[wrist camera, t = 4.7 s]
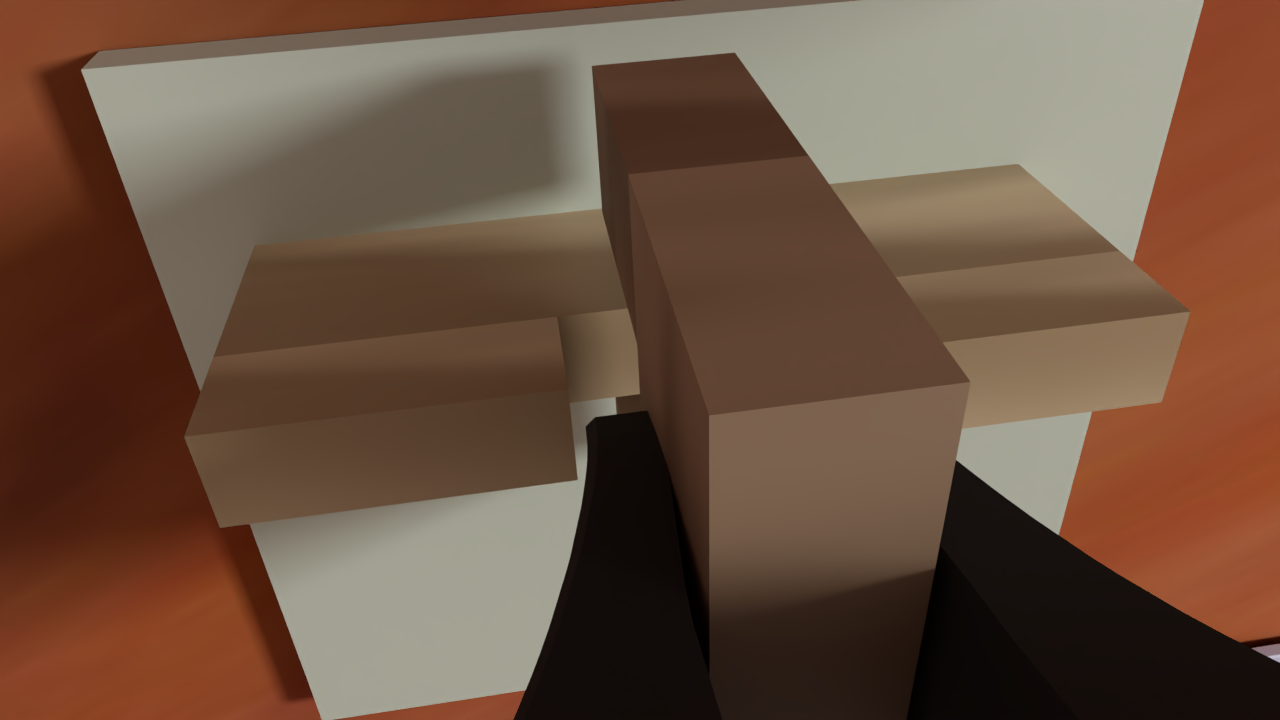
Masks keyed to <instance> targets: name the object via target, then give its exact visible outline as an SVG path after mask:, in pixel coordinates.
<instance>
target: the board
mask: <svg viewBox="0 0 1280 720" xmlns="http://www.w3.org/2000/svg"><path fill="white" fill-rule="evenodd" d="M1203 2H1204V0H681V1H670V2H658V3H647V4H635V5H624V6H612V7H601V8H589V9H578V10H566V11H555V12H543V13H532V14H520V15H509V16H497V17H486V18H474V19H463V20H452V21H440V22H429V23H417V24H406V25H394V26H383V27H371V28H360V29H348V30H337V31H325V32H314V33H302V34H291V35H279V36H268V37H257V38H245V39H234V40H222V41H211V42H199V43H188V44H176V45H165V46H153V47H142V48H130V49H119V50H107V51H99V52H98V53H97V54H96V55H95V56H94V57H93V58H92V59H91V60H90V61H89V62H88V63H87V64H86V65H85V66H84V67H83V68H82V69H81V71H82V74H83V77H84V79H85V82H86V85H87V87H88V90H89V93H90V95H91V98H92V101H93V103H94V106H95V109H96V112H97V114H98V117H99V120H100V122H101V125H102V128H103V130H104V133H105V136H106V139H107V141H108V144H109V147H110V149H111V152H112V155H113V157H114V160H115V163H116V166H117V168H118V171H119V174H120V176H121V179H122V182H123V184H124V187H125V190H126V192H127V195H128V198H129V201H130V203H131V206H132V209H133V211H134V214H135V217H136V219H137V222H138V225H139V228H140V230H141V233H142V236H143V238H144V241H145V244H146V246H147V249H148V252H149V254H150V257H151V260H152V263H153V265H154V268H155V271H156V273H157V276H158V279H159V281H160V284H161V287H162V290H163V292H164V295H165V298H166V300H167V303H168V306H169V308H170V311H171V314H172V316H173V319H174V322H175V325H176V327H177V330H178V333H179V335H180V338H181V341H182V343H183V346H184V349H185V352H186V354H187V357H188V360H189V362H190V365H191V368H192V370H193V373H194V376H195V379H196V381H197V384H198V387H199V389H200V392H201V389H202V386H203V384H204V381H205V378H206V376H207V373H208V370H209V367H210V365H211V362H212V359H213V357H214V354H215V351H216V348H217V346H218V343H219V340H220V337H221V335H222V332H223V329H224V327H225V324H226V321H227V318H228V316H229V313H230V310H231V308H232V305H233V302H234V299H235V297H236V294H237V291H238V289H239V286H240V283H241V280H242V278H243V275H244V272H245V270H246V267H247V264H248V261H249V259H250V256H251V253H252V251H253V248H254V246H255V245H264V244H274V243H283V242H292V241H302V240H311V239H320V238H330V237H339V236H348V235H358V234H367V233H377V232H386V231H395V230H405V229H414V228H423V227H433V226H442V225H451V224H461V223H470V222H479V221H489V220H498V219H507V218H517V217H526V216H535V215H545V214H554V213H563V212H573V211H582V210H591V209H601V208H602V202H601V188H600V174H599V160H598V146H597V132H596V118H595V104H594V90H593V76H592V66H595V65H606V64H617V63H628V62H638V61H649V60H660V59H671V58H682V57H693V56H703V55H714V54H725V53H736V55H737V56H738V58H739V59H740V60H741V62H742V63H743V64H744V66H745V67H746V69H747V70H748V71H749V73H750V74H751V76H752V77H753V78H754V80H755V81H756V83H757V84H758V85H759V87H760V88H761V90H762V91H763V92H764V94H765V95H766V97H767V98H768V99H769V101H770V102H771V104H772V105H773V106H774V108H775V109H776V111H777V112H778V113H779V115H780V116H781V118H782V119H783V120H784V122H785V123H786V125H787V126H788V127H789V129H790V130H791V132H792V133H793V134H794V136H795V137H796V139H797V140H798V141H799V143H800V144H801V146H802V147H803V148H804V150H805V151H806V152H807V154H808V155H809V157H810V158H811V159H812V161H813V162H814V164H815V165H816V166H817V168H818V169H819V171H820V172H821V173H822V175H823V176H824V178H825V179H826V180H827V182H828V183H829V184H834V183H844V182H853V181H862V180H872V179H881V178H891V177H900V176H909V175H919V174H928V173H937V172H947V171H956V170H965V169H975V168H984V167H993V166H1003V165H1012V164H1019V165H1020V166H1021V167H1023V168H1024V169H1025V170H1026V171H1027V172H1028V173H1030V174H1031V175H1032V176H1033V177H1034V178H1035V179H1037V180H1038V181H1039V182H1040V183H1041V184H1042V185H1044V186H1045V187H1046V188H1047V189H1048V190H1049V191H1051V192H1052V193H1053V194H1054V195H1055V196H1056V197H1058V198H1059V199H1060V200H1061V201H1062V202H1063V203H1065V204H1066V205H1067V206H1068V207H1069V208H1070V209H1072V210H1073V211H1074V212H1075V213H1076V214H1077V215H1079V216H1080V217H1081V218H1082V219H1083V220H1084V221H1086V222H1087V223H1088V224H1089V225H1090V226H1091V227H1093V228H1094V229H1095V230H1096V231H1097V232H1098V233H1100V234H1101V235H1102V236H1103V237H1104V238H1105V239H1107V240H1108V241H1109V242H1110V243H1111V244H1112V245H1113V246H1115V247H1116V248H1117V249H1118V250H1119V251H1120V252H1122V253H1123V254H1124V255H1125V256H1126V257H1127V258H1129V259H1130V260H1131V261H1132V262H1133V259H1134V255H1135V252H1136V248H1137V244H1138V241H1139V237H1140V233H1141V230H1142V226H1143V222H1144V219H1145V215H1146V211H1147V208H1148V204H1149V200H1150V197H1151V193H1152V189H1153V186H1154V182H1155V178H1156V175H1157V171H1158V167H1159V164H1160V160H1161V156H1162V152H1163V149H1164V145H1165V141H1166V138H1167V134H1168V130H1169V127H1170V123H1171V119H1172V116H1173V112H1174V108H1175V105H1176V101H1177V97H1178V94H1179V90H1180V86H1181V83H1182V79H1183V75H1184V72H1185V68H1186V64H1187V61H1188V57H1189V53H1190V50H1191V46H1192V42H1193V38H1194V35H1195V31H1196V27H1197V24H1198V20H1199V16H1200V13H1201V9H1202V5H1203ZM570 411H571V420H572V430H573V439H574V448H575V458H576V467H577V476H578V480H575V481H568V482H560V483H553V484H545V485H538V486H530V487H523V488H515V489H508V490H500V491H493V492H485V493H478V494H470V495H463V496H455V497H448V498H440V499H433V500H425V501H418V502H410V503H403V504H396V505H388V506H381V507H373V508H366V509H358V510H351V511H343V512H336V513H328V514H321V515H313V516H306V517H298V518H291V519H283V520H276V521H268V522H261V523H253V524H250V527H251V529H252V532H253V535H254V538H255V540H256V543H257V546H258V548H259V551H260V554H261V556H262V559H263V562H264V565H265V567H266V570H267V573H268V575H269V578H270V581H271V583H272V586H273V589H274V592H275V594H276V597H277V600H278V602H279V605H280V608H281V610H282V613H283V616H284V618H285V621H286V624H287V627H288V629H289V632H290V635H291V637H292V640H293V643H294V645H295V648H296V651H297V654H298V656H299V659H300V662H301V664H302V667H303V670H304V672H305V675H306V678H307V680H308V683H309V686H310V689H311V691H312V694H313V697H314V699H315V702H316V705H317V707H318V710H319V713H320V716H321V718H322V720H334V719H340V718H347V717H353V716H360V715H366V714H373V713H380V712H386V711H393V710H399V709H406V708H412V707H419V706H425V705H432V704H438V703H445V702H451V701H458V700H464V699H471V698H477V697H484V696H490V695H497V694H503V693H510V692H516V691H523V690H526V688H527V686H528V683H529V681H530V678H531V676H532V673H533V671H534V668H535V665H536V663H537V660H538V657H539V655H540V652H541V649H542V646H543V644H544V641H545V638H546V635H547V632H548V629H549V626H550V623H551V620H552V617H553V613H554V610H555V607H556V603H557V600H558V597H559V594H560V590H561V587H562V584H563V580H564V577H565V574H566V570H567V567H568V563H569V559H570V555H571V551H572V547H573V542H574V537H575V533H576V528H577V524H578V519H579V514H580V510H581V505H582V498H583V492H584V485H585V478H586V468H587V438H586V426H587V425H588V424H589V423H590V422H591V421H592V420H593V419H594V418H595V417H600V416H608V415H615V414H617V413H616V399H615V397H613V398H605V399H597V400H589V401H581V402H573V403H570ZM1091 414H1092V412H1085V413H1077V414H1070V415H1062V416H1055V417H1047V418H1040V419H1032V420H1025V421H1017V422H1010V423H1002V424H995V425H987V426H980V427H972V428H965V429H962V431H961V436H960V441H959V446H958V452H957V457H956V460H957V461H958V462H960V463H961V464H962V465H963V466H965V467H966V468H967V469H968V470H970V471H971V472H972V473H974V474H975V475H976V476H977V477H979V478H980V479H981V480H983V481H984V482H985V483H987V484H988V485H989V486H990V487H992V488H993V489H994V490H996V491H997V492H998V493H1000V494H1001V495H1002V496H1004V497H1005V498H1006V499H1008V500H1009V501H1011V502H1012V503H1013V504H1015V505H1016V506H1018V507H1019V508H1020V509H1022V510H1023V511H1024V512H1026V513H1027V514H1029V515H1030V516H1031V517H1033V518H1034V519H1035V520H1037V521H1038V522H1040V523H1041V524H1043V525H1044V526H1046V527H1047V528H1049V529H1050V530H1052V531H1053V532H1055V533H1056V534H1057V535H1059V531H1060V528H1061V524H1062V520H1063V517H1064V513H1065V509H1066V506H1067V502H1068V498H1069V494H1070V491H1071V487H1072V483H1073V480H1074V476H1075V472H1076V469H1077V465H1078V461H1079V458H1080V454H1081V450H1082V447H1083V443H1084V439H1085V436H1086V432H1087V428H1088V425H1089V421H1090V417H1091Z"/></svg>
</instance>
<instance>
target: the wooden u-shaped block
mask: <svg viewBox="0 0 1280 720" xmlns="http://www.w3.org/2000/svg"><path fill="white" fill-rule="evenodd" d="M829 185H830V186H831V187H832V189H833V190H834V192H835V193H836V194H837V196H838V197H839V199H840V200H841V201H842V203H843V204H844V206H845V207H846V208H847V210H848V211H849V213H850V214H851V215H852V217H853V218H854V220H855V221H856V222H857V224H858V225H859V227H860V228H861V229H862V231H863V232H864V233H865V235H866V236H867V238H868V239H869V240H870V242H871V243H872V245H873V246H874V247H875V249H876V250H877V252H878V253H879V254H880V256H881V257H882V259H883V260H884V261H885V263H886V264H887V266H888V267H889V268H890V270H891V271H892V273H893V274H894V275H895V277H896V278H897V280H898V281H899V282H900V284H901V285H902V287H903V288H904V289H905V291H906V292H907V294H908V295H909V296H910V298H911V299H912V301H913V302H914V303H915V305H916V306H917V308H918V309H919V310H920V312H921V313H922V315H923V316H924V317H925V319H926V320H927V321H928V323H929V324H930V326H931V327H932V328H933V330H934V331H935V333H936V334H937V335H938V337H939V338H940V340H941V341H942V342H943V344H944V345H945V347H946V348H947V349H948V351H949V352H950V354H951V355H952V356H953V358H954V359H955V361H956V362H957V363H958V365H959V366H960V368H961V369H962V370H963V372H964V373H965V375H966V376H967V377H968V379H969V380H970V382H971V383H970V389H969V394H968V399H967V404H966V410H965V415H964V420H963V425H962V429H965V428H972V427H980V426H987V425H995V424H1002V423H1010V422H1017V421H1025V420H1032V419H1040V418H1047V417H1055V416H1062V415H1070V414H1077V413H1085V412H1092V411H1100V410H1107V409H1115V408H1122V407H1130V406H1137V405H1145V404H1152V403H1160V402H1162V399H1163V396H1164V393H1165V390H1166V387H1167V383H1168V380H1169V377H1170V374H1171V371H1172V368H1173V365H1174V362H1175V359H1176V355H1177V352H1178V349H1179V346H1180V343H1181V340H1182V337H1183V334H1184V330H1185V327H1186V324H1187V321H1188V318H1189V315H1190V311H1189V310H1188V309H1187V308H1186V307H1185V306H1183V305H1182V304H1181V303H1180V302H1179V301H1178V300H1176V299H1175V298H1174V297H1173V296H1172V295H1171V294H1169V293H1168V292H1167V291H1166V290H1165V289H1164V288H1162V287H1161V286H1160V285H1159V284H1158V283H1157V282H1155V281H1154V280H1153V279H1152V278H1151V277H1150V276H1148V275H1147V274H1146V273H1145V272H1144V271H1143V270H1141V269H1140V268H1139V267H1138V266H1137V265H1136V264H1134V263H1133V262H1132V261H1131V260H1130V259H1129V258H1127V257H1126V256H1125V255H1124V254H1123V253H1122V252H1120V251H1119V250H1118V249H1117V248H1116V247H1115V246H1113V245H1112V244H1111V243H1110V242H1109V241H1108V240H1107V239H1105V238H1104V237H1103V236H1102V235H1101V234H1100V233H1098V232H1097V231H1096V230H1095V229H1094V228H1093V227H1091V226H1090V225H1089V224H1088V223H1087V222H1086V221H1084V220H1083V219H1082V218H1081V217H1080V216H1079V215H1077V214H1076V213H1075V212H1074V211H1073V210H1072V209H1070V208H1069V207H1068V206H1067V205H1066V204H1065V203H1063V202H1062V201H1061V200H1060V199H1059V198H1058V197H1056V196H1055V195H1054V194H1053V193H1052V192H1051V191H1049V190H1048V189H1047V188H1046V187H1045V186H1044V185H1042V184H1041V183H1040V182H1039V181H1038V180H1037V179H1035V178H1034V177H1033V176H1032V175H1031V174H1030V173H1028V172H1027V171H1026V170H1025V169H1024V168H1023V167H1021V166H1020V165H1019V164H1012V165H1003V166H993V167H984V168H975V169H965V170H956V171H947V172H937V173H928V174H919V175H909V176H900V177H891V178H881V179H872V180H862V181H853V182H844V183H834V184H829ZM637 394H640V388H639V369H638V350H637V342H636V338H635V334H634V330H633V327H632V323H631V319H630V315H629V311H628V308H627V304H626V300H625V296H624V293H623V289H622V285H621V281H620V277H619V274H618V270H617V266H616V262H615V259H614V255H613V251H612V247H611V243H610V240H609V236H608V232H607V228H606V225H605V221H604V217H603V213H602V208H601V209H591V210H582V211H573V212H563V213H554V214H545V215H535V216H526V217H517V218H507V219H498V220H489V221H479V222H470V223H461V224H451V225H442V226H433V227H423V228H414V229H405V230H395V231H386V232H377V233H367V234H358V235H348V236H339V237H330V238H320V239H311V240H302V241H292V242H283V243H274V244H264V245H255V246H254V248H253V251H252V253H251V256H250V259H249V261H248V264H247V267H246V270H245V272H244V275H243V278H242V280H241V283H240V286H239V289H238V291H237V294H236V297H235V299H234V302H233V305H232V308H231V310H230V313H229V316H228V318H227V321H226V324H225V327H224V329H223V332H222V335H221V337H220V340H219V343H218V346H217V348H216V351H215V354H214V357H213V359H212V362H211V365H210V367H209V370H208V373H207V376H206V378H205V381H204V384H203V386H202V389H201V392H200V395H199V397H198V400H197V403H196V405H195V408H194V411H193V414H192V416H191V419H190V422H189V424H188V427H187V430H186V433H185V435H184V438H185V441H186V443H187V446H188V448H189V451H190V453H191V456H192V459H193V461H194V464H195V466H196V469H197V471H198V474H199V476H200V479H201V481H202V484H203V486H204V489H205V491H206V494H207V496H208V499H209V502H210V504H211V507H212V509H213V512H214V514H215V517H216V519H217V522H218V524H219V527H220V528H223V527H231V526H238V525H246V524H253V523H261V522H268V521H276V520H283V519H291V518H298V517H306V516H313V515H321V514H328V513H336V512H343V511H351V510H358V509H366V508H373V507H381V506H388V505H396V504H403V503H410V502H418V501H425V500H433V499H440V498H448V497H455V496H463V495H470V494H478V493H485V492H493V491H500V490H508V489H515V488H523V487H530V486H538V485H545V484H553V483H560V482H568V481H575V480H578V476H577V467H576V458H575V448H574V439H573V430H572V420H571V411H570V403H573V402H581V401H589V400H597V399H605V398H613V397H621V396H629V395H637Z"/></svg>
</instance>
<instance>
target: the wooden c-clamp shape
mask: <svg viewBox="0 0 1280 720" xmlns="http://www.w3.org/2000/svg"><path fill="white" fill-rule="evenodd" d="M592 76H593V90H594V104H595V118H596V132H597V146H598V160H599V174H600V188H601V202H602V213H603V217H604V221H605V225H606V228H607V232H608V236H609V240H610V243H611V247H612V251H613V255H614V259H615V262H616V266H617V270H618V274H619V277H620V281H621V285H622V289H623V293H624V296H625V300H626V304H627V308H628V311H629V315H630V319H631V323H632V327H633V330H634V334H635V338H636V342H637V350H638V369H639V388H640V394H637V395H629V396H621V397H615V399H616V413H617V414H623V413H631V412H639V411H648V413H649V416H650V418H651V421H652V423H653V426H654V428H655V431H656V434H657V437H658V440H659V443H660V445H661V448H662V451H663V454H664V457H665V460H666V463H667V466H668V472H669V478H670V485H671V492H672V499H673V505H674V512H675V519H676V526H677V533H678V540H679V547H680V553H681V560H682V567H683V574H684V581H685V588H686V592H687V597H688V602H689V606H690V611H691V616H692V621H693V624H694V628H695V631H696V634H697V638H698V641H699V644H700V648H701V651H702V654H703V658H704V661H705V664H706V668H707V671H708V674H709V678H710V681H711V684H712V688H713V691H714V694H715V698H716V701H717V704H718V707H719V710H720V713H721V716H722V719H723V720H907V714H908V709H909V704H910V699H911V693H912V688H913V683H914V678H915V672H916V667H917V662H918V657H919V651H920V646H921V641H922V636H923V630H924V625H925V620H926V615H927V609H928V604H929V599H930V594H931V588H932V583H933V578H934V573H935V567H936V562H937V557H938V551H939V546H940V541H941V536H942V530H943V525H944V520H945V515H946V509H947V504H948V499H949V494H950V488H951V483H952V478H953V473H954V467H955V462H956V457H957V452H958V446H959V441H960V436H961V431H962V425H963V420H964V415H965V410H966V404H967V399H968V394H969V389H970V383H971V382H970V380H969V379H968V377H967V376H966V375H965V373H964V372H963V370H962V369H961V368H960V366H959V365H958V363H957V362H956V361H955V359H954V358H953V356H952V355H951V354H950V352H949V351H948V349H947V348H946V347H945V345H944V344H943V342H942V341H941V340H940V338H939V337H938V335H937V334H936V333H935V331H934V330H933V328H932V327H931V326H930V324H929V323H928V321H927V320H926V319H925V317H924V316H923V315H922V313H921V312H920V310H919V309H918V308H917V306H916V305H915V303H914V302H913V301H912V299H911V298H910V296H909V295H908V294H907V292H906V291H905V289H904V288H903V287H902V285H901V284H900V282H899V281H898V280H897V278H896V277H895V275H894V274H893V273H892V271H891V270H890V268H889V267H888V266H887V264H886V263H885V261H884V260H883V259H882V257H881V256H880V254H879V253H878V252H877V250H876V249H875V247H874V246H873V245H872V243H871V242H870V240H869V239H868V238H867V236H866V235H865V233H864V232H863V231H862V229H861V228H860V227H859V225H858V224H857V222H856V221H855V220H854V218H853V217H852V215H851V214H850V213H849V211H848V210H847V208H846V207H845V206H844V204H843V203H842V201H841V200H840V199H839V197H838V196H837V194H836V193H835V192H834V190H833V189H832V187H831V186H830V185H829V183H828V182H827V180H826V179H825V178H824V176H823V175H822V173H821V172H820V171H819V169H818V168H817V166H816V165H815V164H814V162H813V161H812V159H811V158H810V157H809V155H808V154H807V152H806V151H805V150H804V148H803V147H802V146H801V144H800V143H799V141H798V140H797V139H796V137H795V136H794V134H793V133H792V132H791V130H790V129H789V127H788V126H787V125H786V123H785V122H784V120H783V119H782V118H781V116H780V115H779V113H778V112H777V111H776V109H775V108H774V106H773V105H772V104H771V102H770V101H769V99H768V98H767V97H766V95H765V94H764V92H763V91H762V90H761V88H760V87H759V85H758V84H757V83H756V81H755V80H754V78H753V77H752V76H751V74H750V73H749V71H748V70H747V69H746V67H745V66H744V64H743V63H742V62H741V60H740V59H739V58H738V56H737V55H736V53H725V54H714V55H703V56H693V57H682V58H671V59H660V60H649V61H638V62H628V63H617V64H606V65H595V66H592Z"/></svg>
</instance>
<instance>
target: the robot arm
mask: <svg viewBox="0 0 1280 720" xmlns="http://www.w3.org/2000/svg"><path fill="white" fill-rule="evenodd" d="M586 438H587V468H586V478H585V485H584V492H583V498H582V505H581V510H580V514H579V519H578V524H577V528H576V533H575V537H574V542H573V547H572V551H571V555H570V559H569V563H568V567H567V570H566V574H565V577H564V580H563V584H562V587H561V590H560V594H559V597H558V600H557V603H556V607H555V610H554V613H553V617H552V620H551V623H550V626H549V629H548V632H547V635H546V638H545V641H544V644H543V646H542V649H541V652H540V655H539V657H538V660H537V663H536V665H535V668H534V671H533V673H532V676H531V678H530V681H529V683H528V686H527V688H526V691H525V693H524V696H523V698H522V701H521V703H520V706H519V708H518V710H517V713H516V715H515V717H514V719H513V720H723V719H722V716H721V713H720V710H719V707H718V704H717V701H716V698H715V694H714V691H713V688H712V684H711V681H710V678H709V674H708V671H707V668H706V664H705V661H704V658H703V654H702V651H701V648H700V644H699V641H698V638H697V634H696V631H695V628H694V624H693V621H692V616H691V611H690V606H689V602H688V597H687V592H686V588H685V581H684V574H683V567H682V560H681V553H680V547H679V540H678V533H677V526H676V519H675V512H674V505H673V499H672V492H671V485H670V478H669V472H668V466H667V463H666V460H665V457H664V454H663V451H662V448H661V445H660V443H659V440H658V437H657V434H656V431H655V428H654V426H653V423H652V421H651V418H650V416H649V413H648V411H639V412H631V413H623V414H615V415H608V416H600V417H595V418H594V419H593V420H592V421H591V422H590V423H589V424H588V425H587V426H586ZM907 720H1280V643H1279V644H1273V645H1266V646H1260V647H1254V648H1250V647H1248V646H1246V645H1244V644H1242V643H1240V642H1238V641H1236V640H1234V639H1232V638H1230V637H1228V636H1226V635H1224V634H1222V633H1220V632H1218V631H1216V630H1214V629H1213V628H1211V627H1209V626H1207V625H1205V624H1203V623H1201V622H1200V621H1198V620H1196V619H1194V618H1192V617H1190V616H1189V615H1187V614H1185V613H1183V612H1181V611H1180V610H1178V609H1176V608H1175V607H1173V606H1171V605H1169V604H1168V603H1166V602H1164V601H1163V600H1161V599H1159V598H1158V597H1156V596H1154V595H1152V594H1151V593H1149V592H1147V591H1146V590H1144V589H1142V588H1141V587H1139V586H1137V585H1135V584H1134V583H1132V582H1130V581H1129V580H1127V579H1125V578H1123V577H1122V576H1120V575H1118V574H1117V573H1115V572H1114V571H1112V570H1111V569H1109V568H1107V567H1106V566H1104V565H1103V564H1101V563H1099V562H1098V561H1096V560H1095V559H1093V558H1092V557H1090V556H1088V555H1087V554H1085V553H1084V552H1082V551H1081V550H1079V549H1078V548H1077V547H1075V546H1074V545H1072V544H1071V543H1069V542H1068V541H1066V540H1065V539H1063V538H1062V537H1060V536H1059V535H1057V534H1056V533H1055V532H1053V531H1052V530H1050V529H1049V528H1047V527H1046V526H1044V525H1043V524H1041V523H1040V522H1038V521H1037V520H1035V519H1034V518H1033V517H1031V516H1030V515H1029V514H1027V513H1026V512H1024V511H1023V510H1022V509H1020V508H1019V507H1018V506H1016V505H1015V504H1013V503H1012V502H1011V501H1009V500H1008V499H1006V498H1005V497H1004V496H1002V495H1001V494H1000V493H998V492H997V491H996V490H994V489H993V488H992V487H990V486H989V485H988V484H987V483H985V482H984V481H983V480H981V479H980V478H979V477H977V476H976V475H975V474H974V473H972V472H971V471H970V470H968V469H967V468H966V467H965V466H963V465H962V464H961V463H960V462H958V461H957V460H956V462H955V467H954V473H953V478H952V483H951V488H950V494H949V499H948V504H947V509H946V515H945V520H944V525H943V530H942V536H941V541H940V546H939V551H938V557H937V562H936V567H935V573H934V578H933V583H932V588H931V594H930V599H929V604H928V609H927V615H926V620H925V625H924V630H923V636H922V641H921V646H920V651H919V657H918V662H917V667H916V672H915V678H914V683H913V688H912V693H911V699H910V704H909V709H908V714H907Z"/></svg>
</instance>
